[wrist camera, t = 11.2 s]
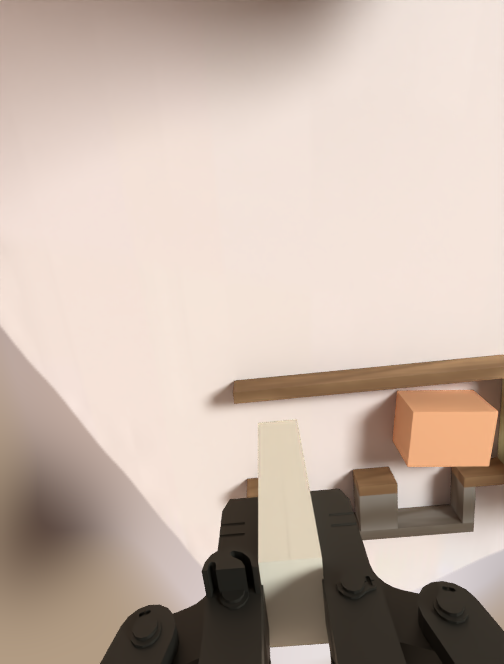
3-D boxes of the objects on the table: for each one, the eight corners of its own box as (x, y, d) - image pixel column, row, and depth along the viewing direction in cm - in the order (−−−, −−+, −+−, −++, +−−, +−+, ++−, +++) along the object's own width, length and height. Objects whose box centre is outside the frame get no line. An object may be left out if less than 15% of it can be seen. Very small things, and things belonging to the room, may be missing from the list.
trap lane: (234, 380, 44) (232, 397, 40) (516, 353, 42) (541, 367, 39) (254, 528, 49) (253, 555, 45) (504, 508, 48) (525, 534, 44)
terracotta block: (396, 390, 44) (413, 412, 39) (472, 389, 44) (498, 411, 39) (392, 439, 46) (407, 466, 41) (464, 439, 46) (489, 466, 41)
